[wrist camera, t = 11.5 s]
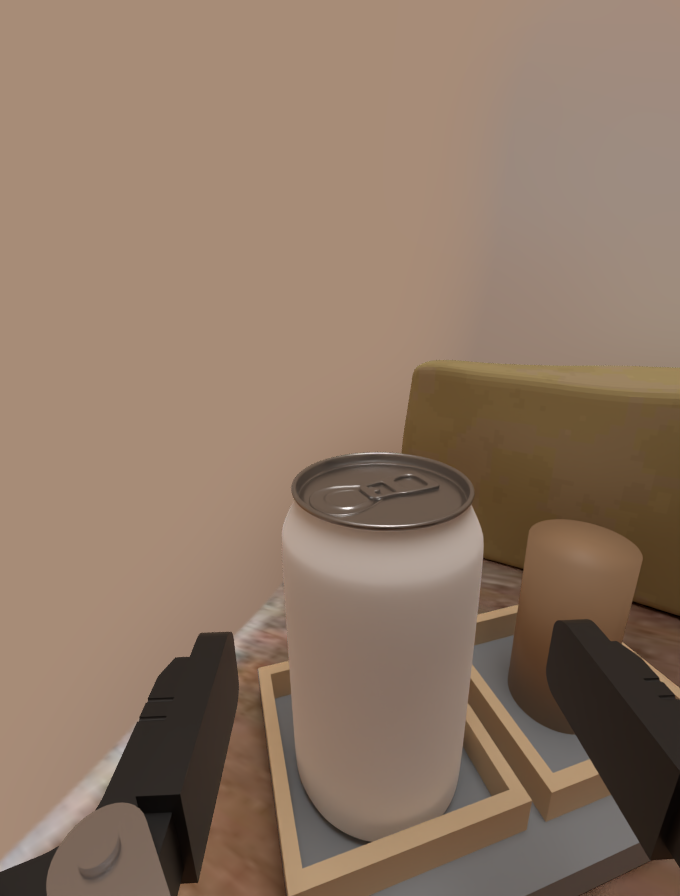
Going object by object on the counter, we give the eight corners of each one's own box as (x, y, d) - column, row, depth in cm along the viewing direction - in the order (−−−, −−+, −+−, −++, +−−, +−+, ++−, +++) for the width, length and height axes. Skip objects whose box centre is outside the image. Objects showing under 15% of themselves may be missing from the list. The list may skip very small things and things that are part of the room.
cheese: (382, 560, 33) (385, 367, 28) (413, 508, 41) (420, 353, 36) (748, 646, 24) (844, 386, 19) (692, 557, 32) (750, 361, 27)
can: (275, 720, 18) (252, 466, 14) (398, 665, 21) (406, 439, 17) (340, 897, 13) (332, 562, 9) (496, 791, 15) (541, 499, 12)
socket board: (537, 620, 26) (560, 479, 23) (744, 815, 16) (833, 611, 13) (260, 692, 21) (243, 529, 18) (303, 1029, 11) (282, 791, 8)
